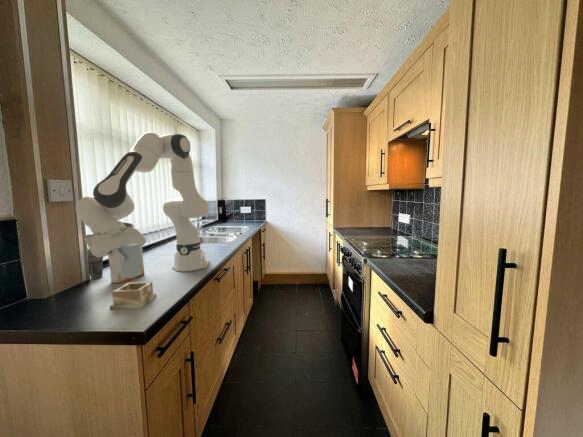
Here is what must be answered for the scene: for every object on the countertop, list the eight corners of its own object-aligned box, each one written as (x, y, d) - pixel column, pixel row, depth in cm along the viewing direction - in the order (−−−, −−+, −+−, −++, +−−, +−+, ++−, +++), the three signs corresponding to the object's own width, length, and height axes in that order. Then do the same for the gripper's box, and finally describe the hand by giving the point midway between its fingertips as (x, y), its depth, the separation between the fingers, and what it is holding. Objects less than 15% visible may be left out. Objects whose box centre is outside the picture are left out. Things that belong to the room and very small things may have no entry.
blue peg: (122, 277, 95) (119, 245, 94) (132, 273, 100) (129, 243, 99) (131, 278, 94) (129, 246, 93) (141, 274, 99) (139, 243, 98)
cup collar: (129, 296, 104) (127, 282, 103) (156, 296, 104) (155, 281, 103) (110, 309, 93) (108, 292, 92) (140, 308, 93) (139, 291, 92)
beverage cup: (86, 278, 129) (82, 238, 127) (104, 274, 134) (100, 236, 132) (88, 281, 124) (84, 240, 122) (107, 277, 129) (103, 238, 127)
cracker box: (136, 273, 135) (132, 234, 132) (145, 274, 133) (141, 234, 131) (110, 282, 121) (106, 239, 119) (119, 283, 119) (115, 239, 117)
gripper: (85, 229, 87) (110, 259, 86) (135, 223, 107) (156, 247, 105) (76, 242, 89) (101, 271, 87) (127, 233, 108) (148, 257, 107)
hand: (132, 258), depth 96 cm, fingers closed on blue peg, 4 cm apart
